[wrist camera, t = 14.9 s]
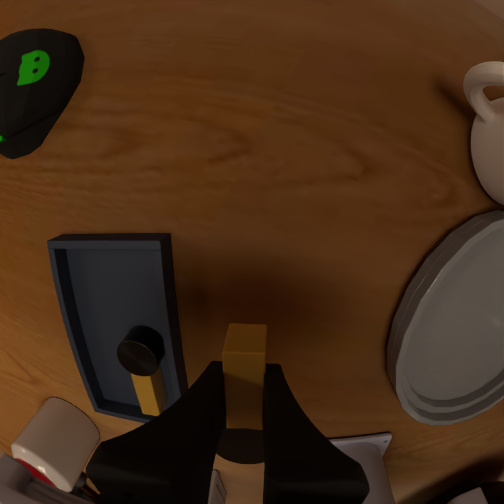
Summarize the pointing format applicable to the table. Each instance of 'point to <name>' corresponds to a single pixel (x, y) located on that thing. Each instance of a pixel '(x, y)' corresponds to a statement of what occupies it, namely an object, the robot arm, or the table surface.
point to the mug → (487, 127)
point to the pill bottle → (56, 443)
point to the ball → (496, 492)
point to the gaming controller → (78, 491)
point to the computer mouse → (35, 86)
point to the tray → (117, 311)
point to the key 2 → (243, 393)
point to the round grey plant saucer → (453, 328)
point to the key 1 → (145, 367)
